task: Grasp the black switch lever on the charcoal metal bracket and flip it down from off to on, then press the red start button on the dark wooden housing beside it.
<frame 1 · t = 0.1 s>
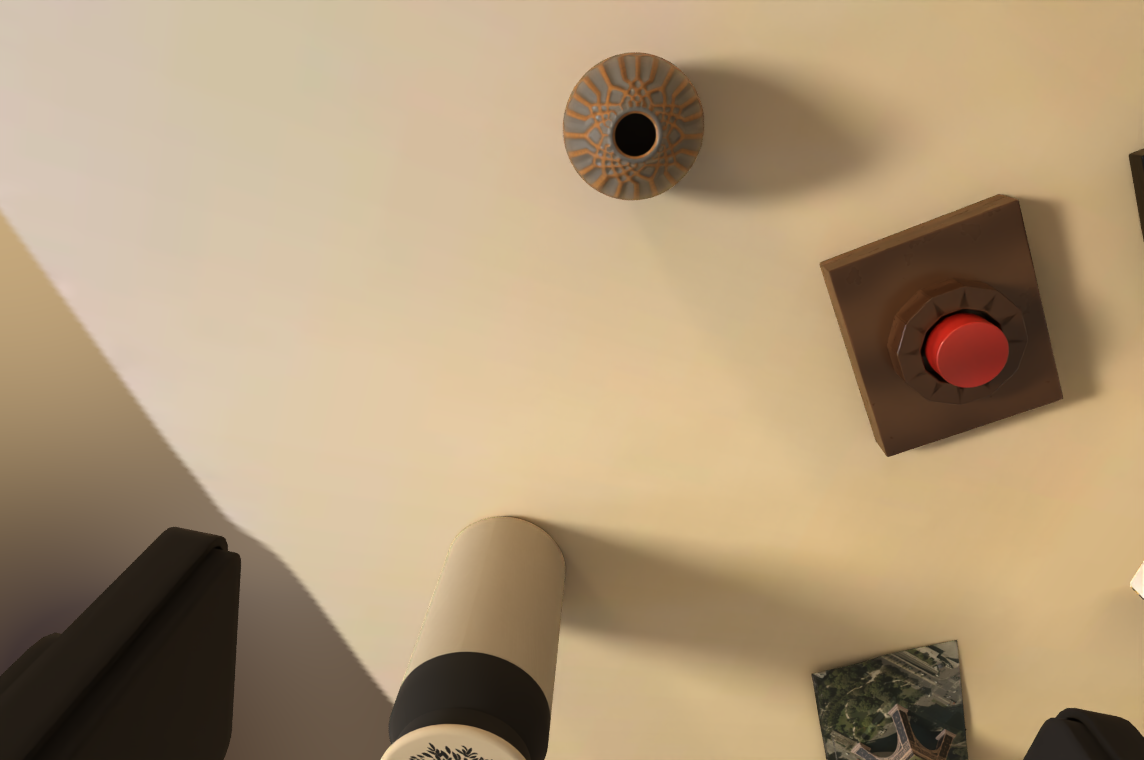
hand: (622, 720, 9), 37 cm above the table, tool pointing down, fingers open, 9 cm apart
vase: (631, 124, 42), on the table
travel mug: (506, 563, 53), on the table
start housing: (933, 325, 45), on the table
start button: (966, 350, 41), point 4 cm above the table, slide at 0.1 cm
eiffel tower figurine: (891, 733, 56), on the table
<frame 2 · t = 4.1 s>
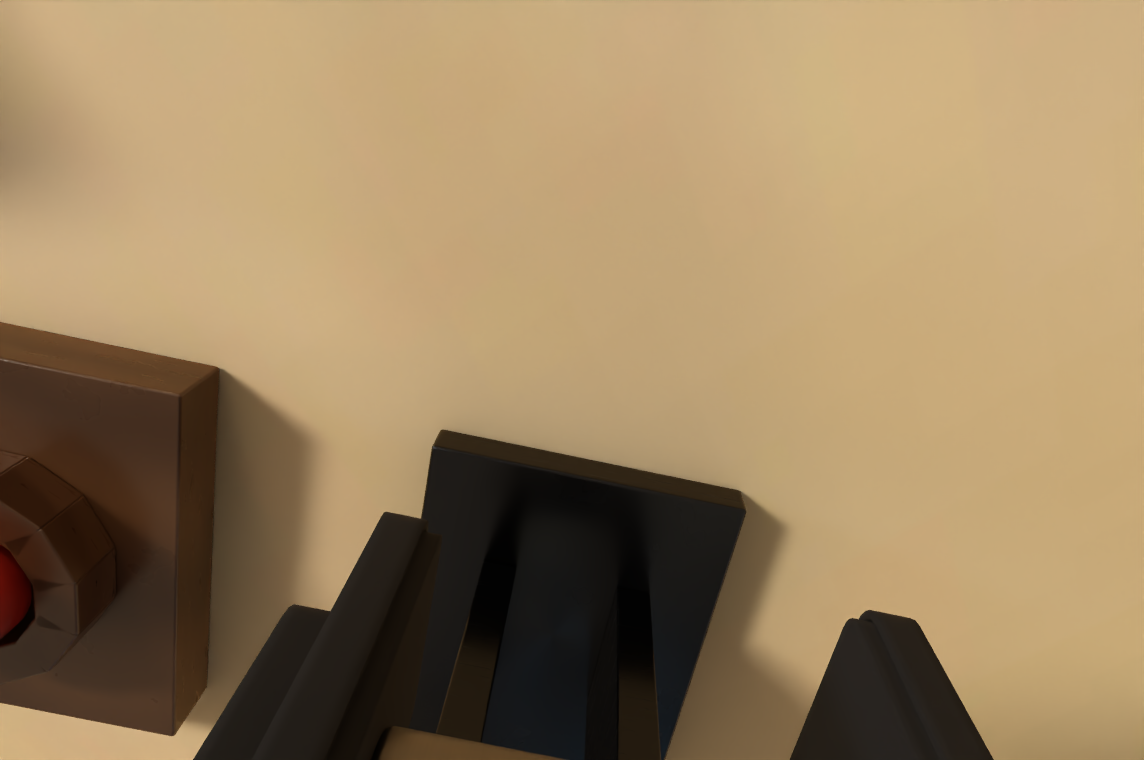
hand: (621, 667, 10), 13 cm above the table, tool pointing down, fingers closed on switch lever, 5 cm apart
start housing: (55, 509, 25), on the table
switch bracket: (555, 610, 25), on the table
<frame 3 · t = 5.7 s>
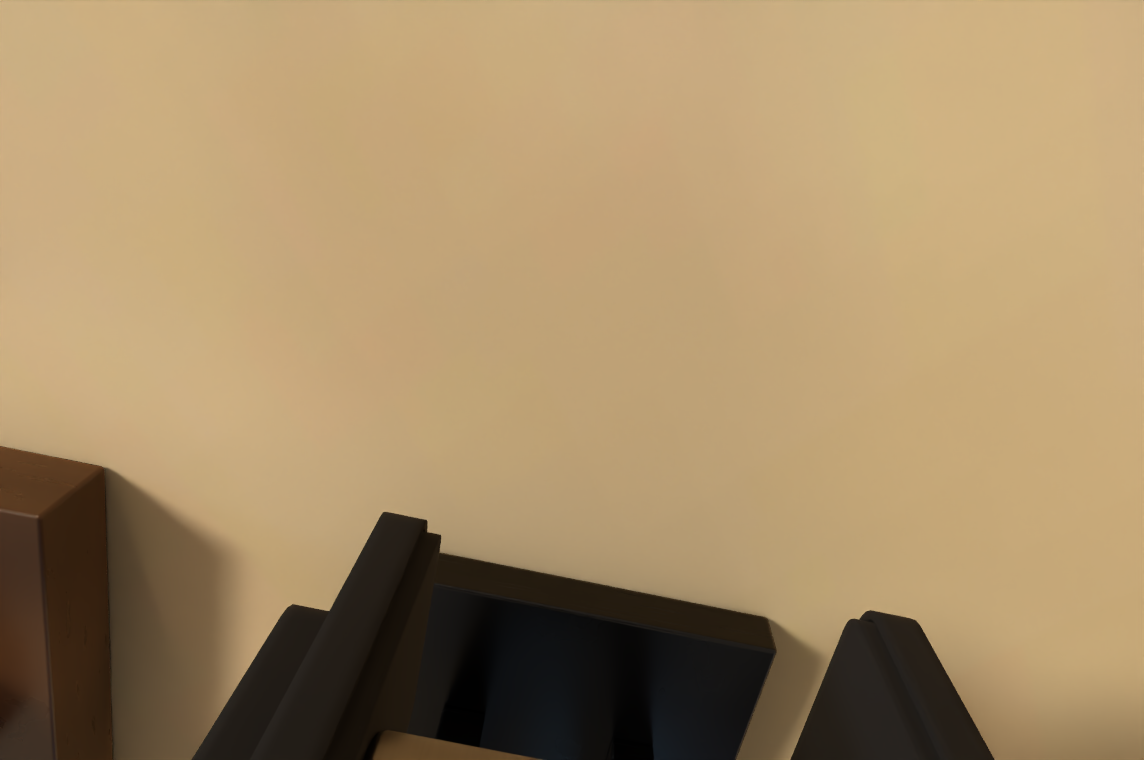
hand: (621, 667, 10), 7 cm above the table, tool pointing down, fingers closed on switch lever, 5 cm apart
switch bracket: (536, 752, 20), on the table
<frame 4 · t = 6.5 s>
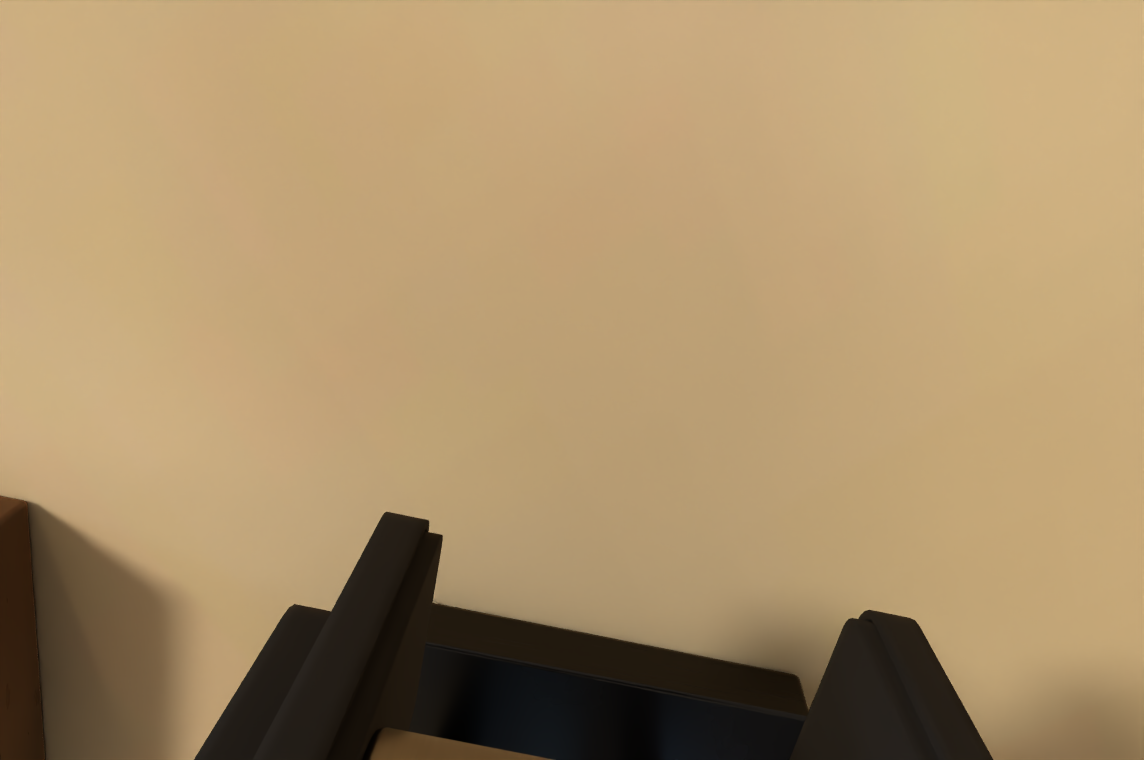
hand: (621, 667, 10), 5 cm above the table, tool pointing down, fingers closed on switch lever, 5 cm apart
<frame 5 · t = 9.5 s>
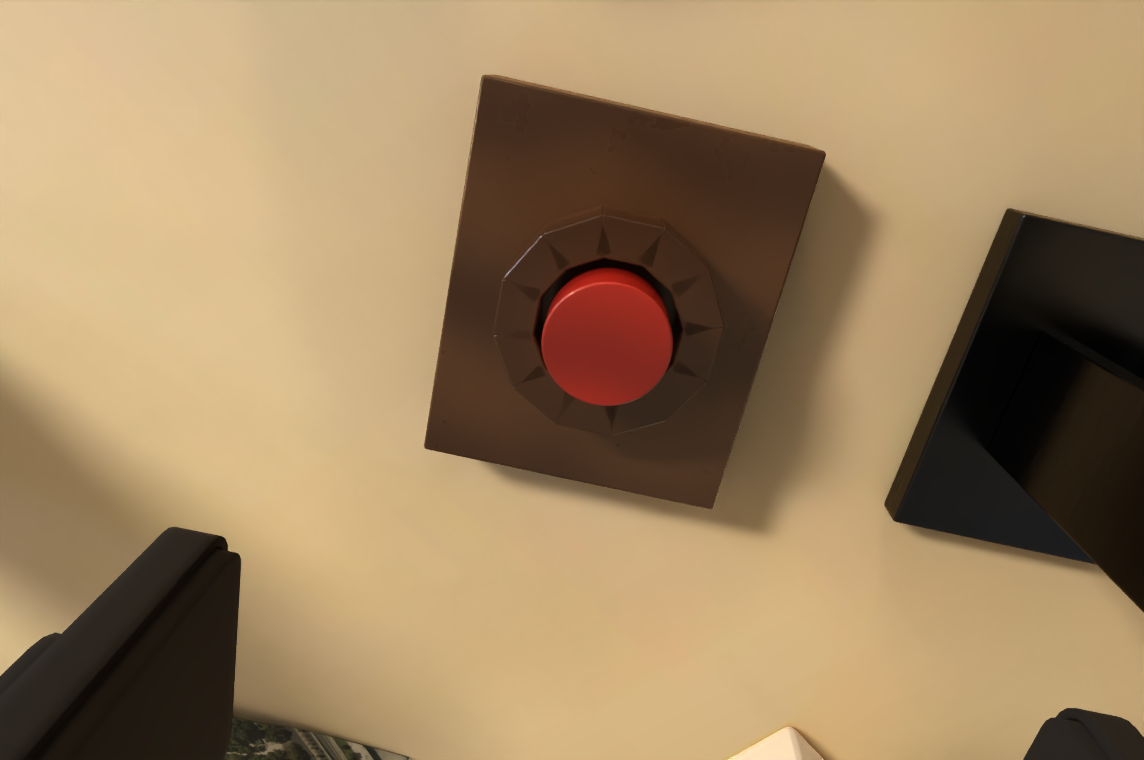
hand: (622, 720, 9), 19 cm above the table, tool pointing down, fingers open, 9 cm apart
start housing: (608, 294, 26), on the table
switch bracket: (1067, 395, 27), on the table
start button: (607, 336, 22), point 4 cm above the table, slide at 0.1 cm
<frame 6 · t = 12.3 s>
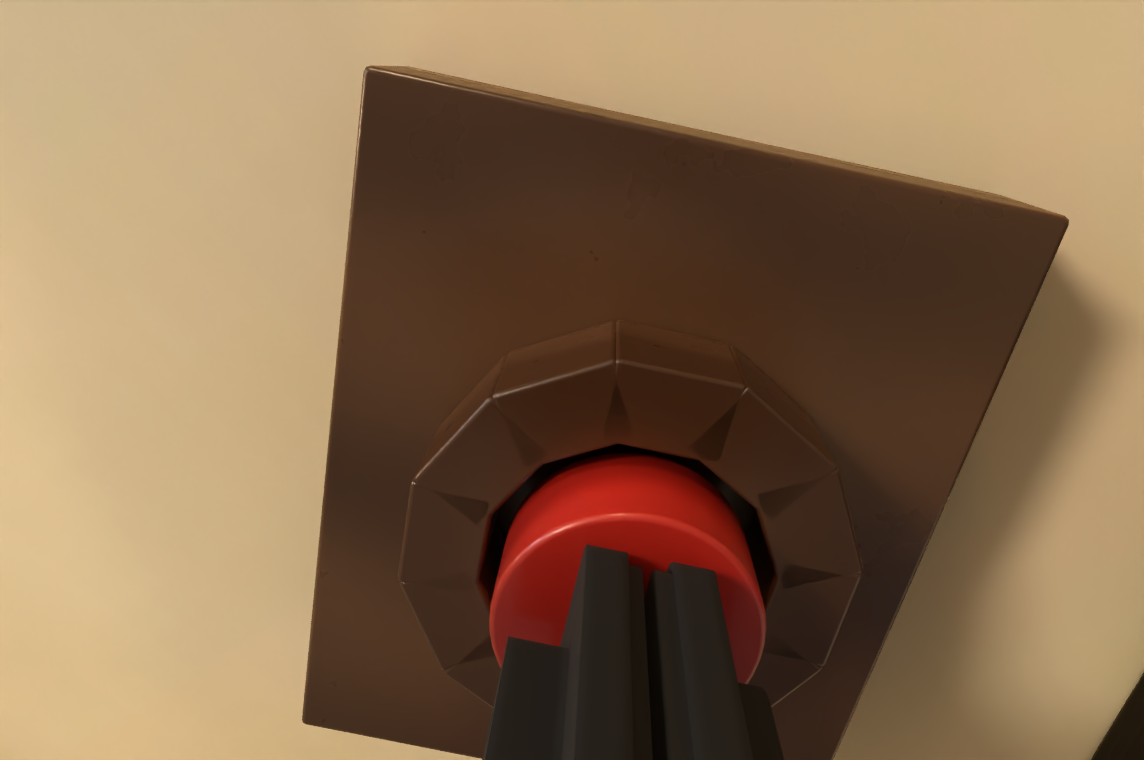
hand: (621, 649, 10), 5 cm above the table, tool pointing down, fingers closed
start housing: (623, 452, 15), on the table
start button: (625, 594, 11), point 4 cm above the table, slide at 0.0 cm, touching gripper
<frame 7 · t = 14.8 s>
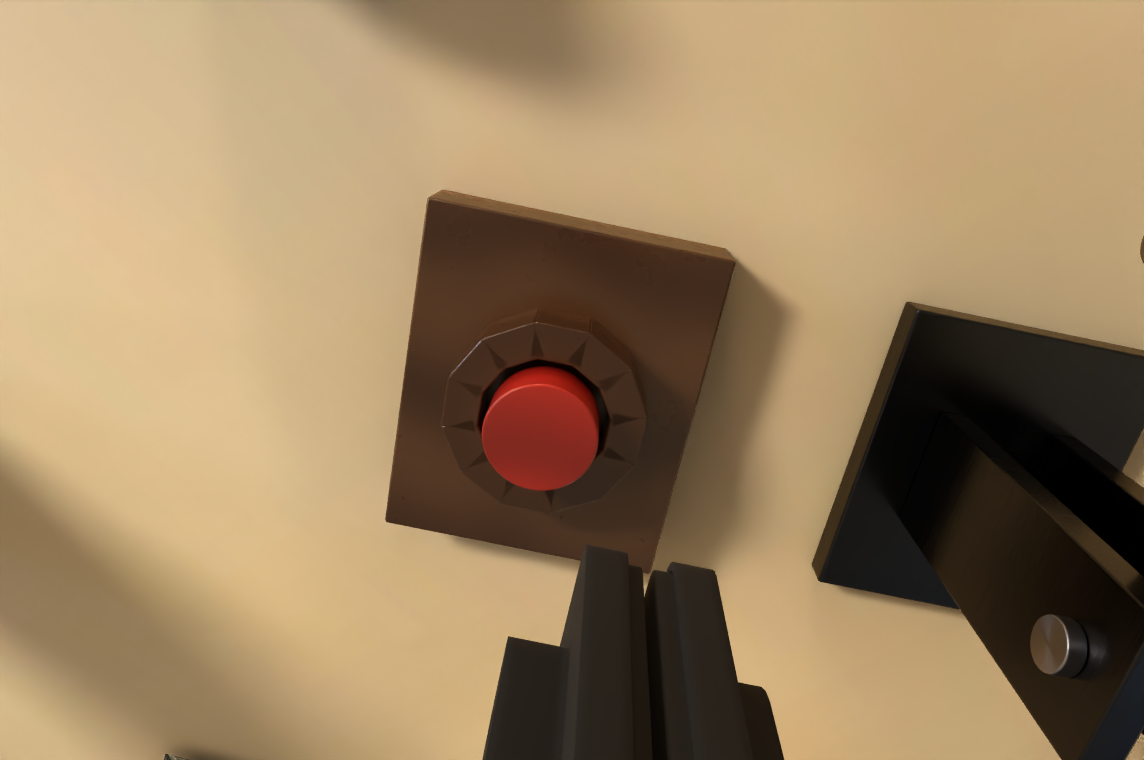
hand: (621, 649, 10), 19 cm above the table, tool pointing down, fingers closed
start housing: (552, 379, 29), on the table
switch bracket: (971, 464, 29), on the table
start button: (542, 428, 25), point 4 cm above the table, slide at 0.1 cm
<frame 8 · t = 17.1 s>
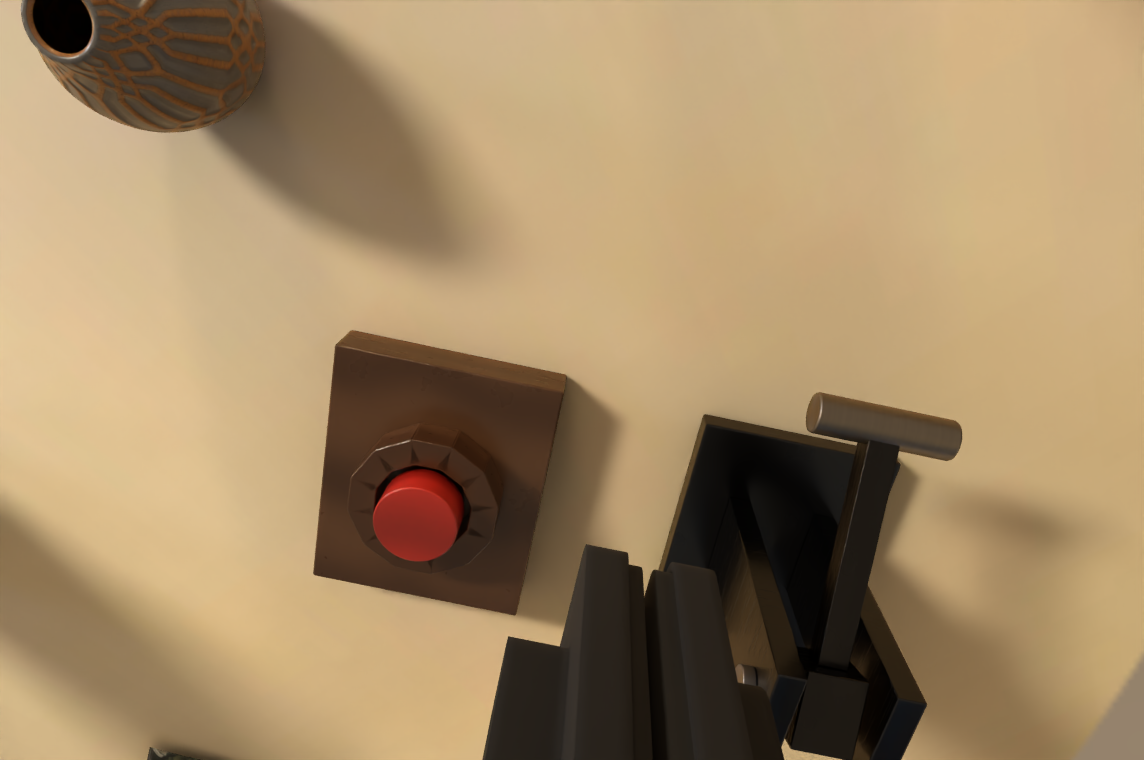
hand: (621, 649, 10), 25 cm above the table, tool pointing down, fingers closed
switch lever: (848, 574, 28), point 10 cm above the table, hinge at -18.2°
vase: (207, 36, 31), on the table
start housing: (441, 466, 38), on the table
switch bracket: (764, 533, 38), on the table
start button: (419, 515, 34), point 4 cm above the table, slide at 0.1 cm
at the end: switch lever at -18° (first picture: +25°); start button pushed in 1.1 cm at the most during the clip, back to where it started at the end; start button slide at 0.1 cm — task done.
